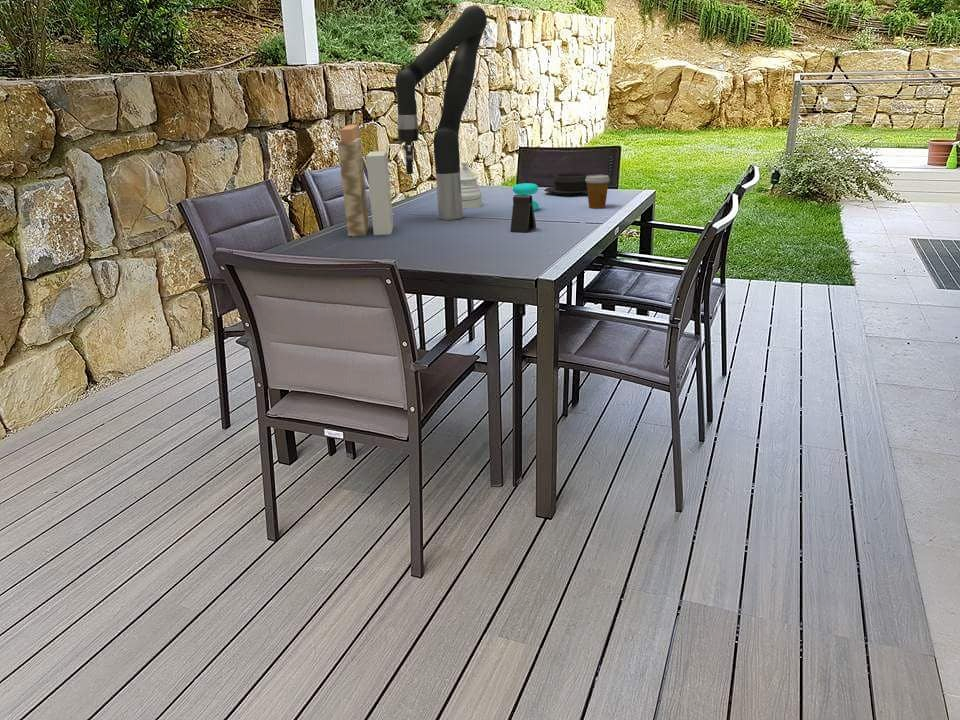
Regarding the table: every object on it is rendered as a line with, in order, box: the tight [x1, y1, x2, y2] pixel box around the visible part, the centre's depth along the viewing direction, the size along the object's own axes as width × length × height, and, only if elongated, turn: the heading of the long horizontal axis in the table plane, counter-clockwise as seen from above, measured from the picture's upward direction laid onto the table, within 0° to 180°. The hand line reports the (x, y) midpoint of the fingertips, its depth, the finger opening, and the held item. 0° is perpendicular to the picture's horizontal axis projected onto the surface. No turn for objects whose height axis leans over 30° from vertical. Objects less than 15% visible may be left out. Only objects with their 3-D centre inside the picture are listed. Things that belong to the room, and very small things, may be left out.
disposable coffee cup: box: [585, 174, 611, 210], centre depth 292 cm, size 10×10×12 cm
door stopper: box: [510, 194, 537, 234], centre depth 257 cm, size 9×6×12 cm, turn 153°
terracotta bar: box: [339, 124, 361, 142], centre depth 262 cm, size 4×24×4 cm, turn 3°
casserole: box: [543, 171, 590, 197], centre depth 326 cm, size 25×19×8 cm
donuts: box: [512, 182, 539, 212], centre depth 293 cm, size 10×10×10 cm
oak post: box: [337, 137, 370, 237], centre depth 264 cm, size 6×16×32 cm, turn 3°
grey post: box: [365, 150, 394, 236], centre depth 265 cm, size 6×16×27 cm, turn 3°
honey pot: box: [460, 161, 483, 210], centre depth 307 cm, size 13×13×18 cm
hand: (409, 172), depth 281 cm, fingers open, 8 cm apart
